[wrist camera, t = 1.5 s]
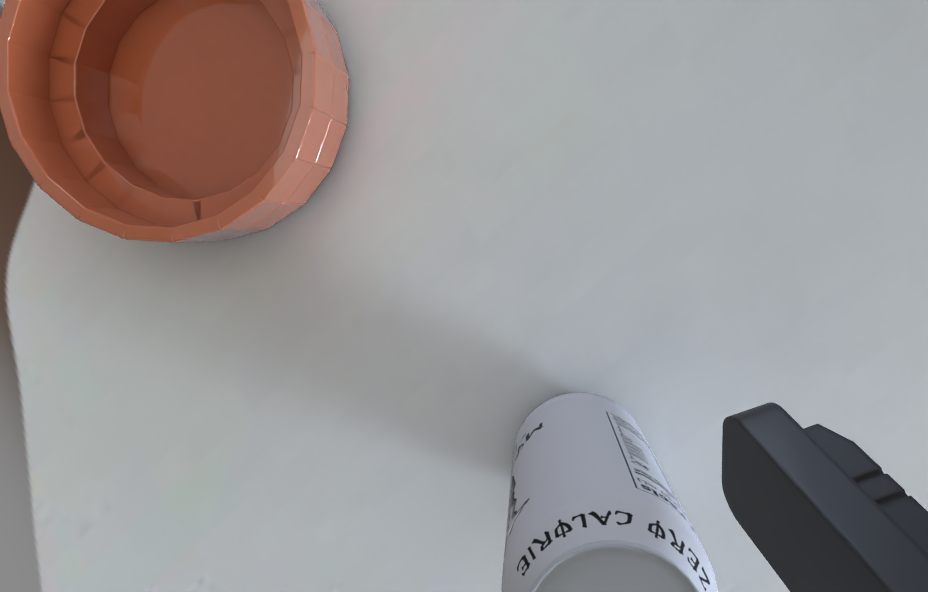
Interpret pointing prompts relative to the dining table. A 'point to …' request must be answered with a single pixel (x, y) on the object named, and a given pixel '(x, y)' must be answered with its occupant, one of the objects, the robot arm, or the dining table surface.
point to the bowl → (174, 110)
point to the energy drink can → (595, 507)
